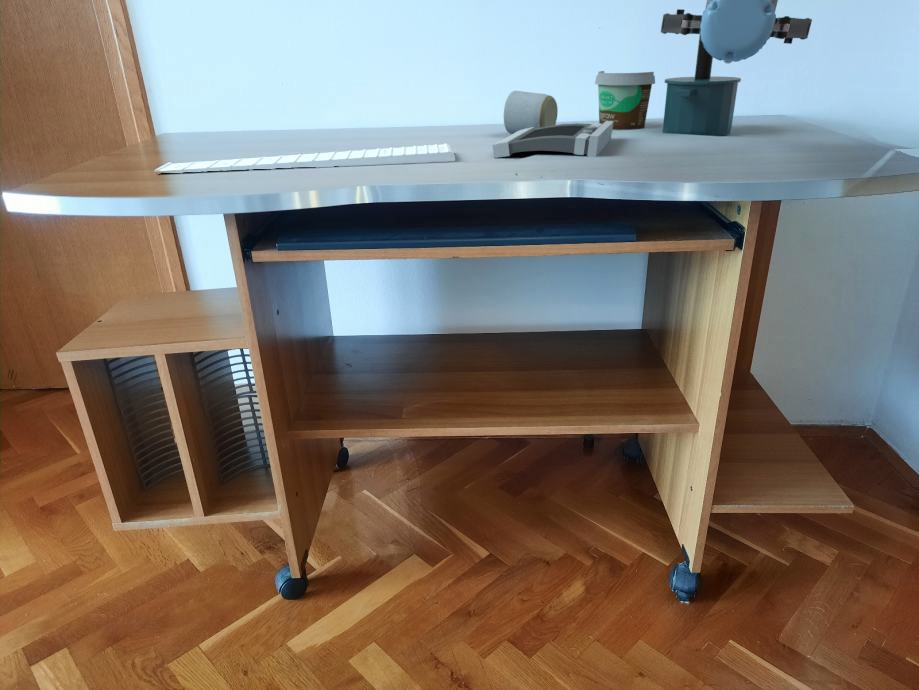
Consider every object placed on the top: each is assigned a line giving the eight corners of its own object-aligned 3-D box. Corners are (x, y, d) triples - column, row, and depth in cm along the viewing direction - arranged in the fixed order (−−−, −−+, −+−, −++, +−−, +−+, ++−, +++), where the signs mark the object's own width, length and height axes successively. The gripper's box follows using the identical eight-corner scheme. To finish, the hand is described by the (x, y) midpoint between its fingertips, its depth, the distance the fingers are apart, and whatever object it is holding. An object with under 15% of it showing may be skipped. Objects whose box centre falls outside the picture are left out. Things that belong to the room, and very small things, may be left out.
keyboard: (153, 175, 95) (150, 164, 94) (170, 166, 102) (168, 155, 101) (455, 161, 97) (454, 150, 97) (451, 152, 105) (451, 142, 104)
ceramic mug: (542, 138, 115) (544, 92, 112) (502, 136, 119) (502, 92, 116) (565, 131, 123) (567, 88, 120) (526, 130, 127) (527, 88, 124)
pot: (743, 128, 118) (751, 78, 115) (711, 141, 107) (719, 86, 103) (682, 125, 125) (687, 78, 121) (645, 136, 113) (650, 85, 110)
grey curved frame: (598, 136, 93) (490, 126, 97) (593, 168, 95) (488, 157, 99) (613, 121, 107) (519, 113, 112) (609, 149, 109) (517, 140, 114)
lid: (749, 83, 113) (758, 26, 109) (726, 89, 104) (734, 27, 101) (680, 82, 120) (685, 28, 116) (652, 87, 112) (657, 29, 108)
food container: (579, 127, 127) (582, 72, 123) (598, 123, 131) (601, 70, 127) (632, 132, 119) (637, 73, 115) (651, 128, 123) (656, 71, 118)
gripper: (631, 52, 87) (647, 48, 105) (833, 63, 80) (813, 57, 98) (640, -11, 84) (655, -4, 102) (852, -6, 77) (828, 1, 94)
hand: (732, 26), depth 100 cm, fingers open, 13 cm apart
